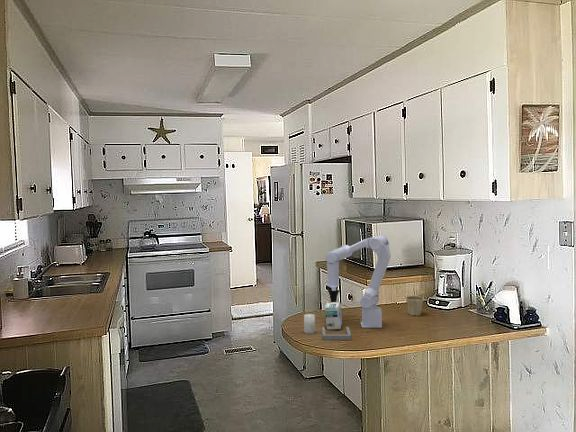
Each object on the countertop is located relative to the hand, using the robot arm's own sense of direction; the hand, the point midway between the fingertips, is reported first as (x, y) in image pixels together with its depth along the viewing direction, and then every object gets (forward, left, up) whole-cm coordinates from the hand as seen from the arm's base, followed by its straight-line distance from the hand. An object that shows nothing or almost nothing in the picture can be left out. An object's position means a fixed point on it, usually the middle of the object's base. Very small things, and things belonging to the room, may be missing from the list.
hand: (333, 301), depth 253 cm
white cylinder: (+12, +19, -9) cm, 24 cm away
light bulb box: (0, +11, -9) cm, 15 cm away
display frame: (0, +24, -9) cm, 26 cm away
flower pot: (-43, -11, -10) cm, 45 cm away
